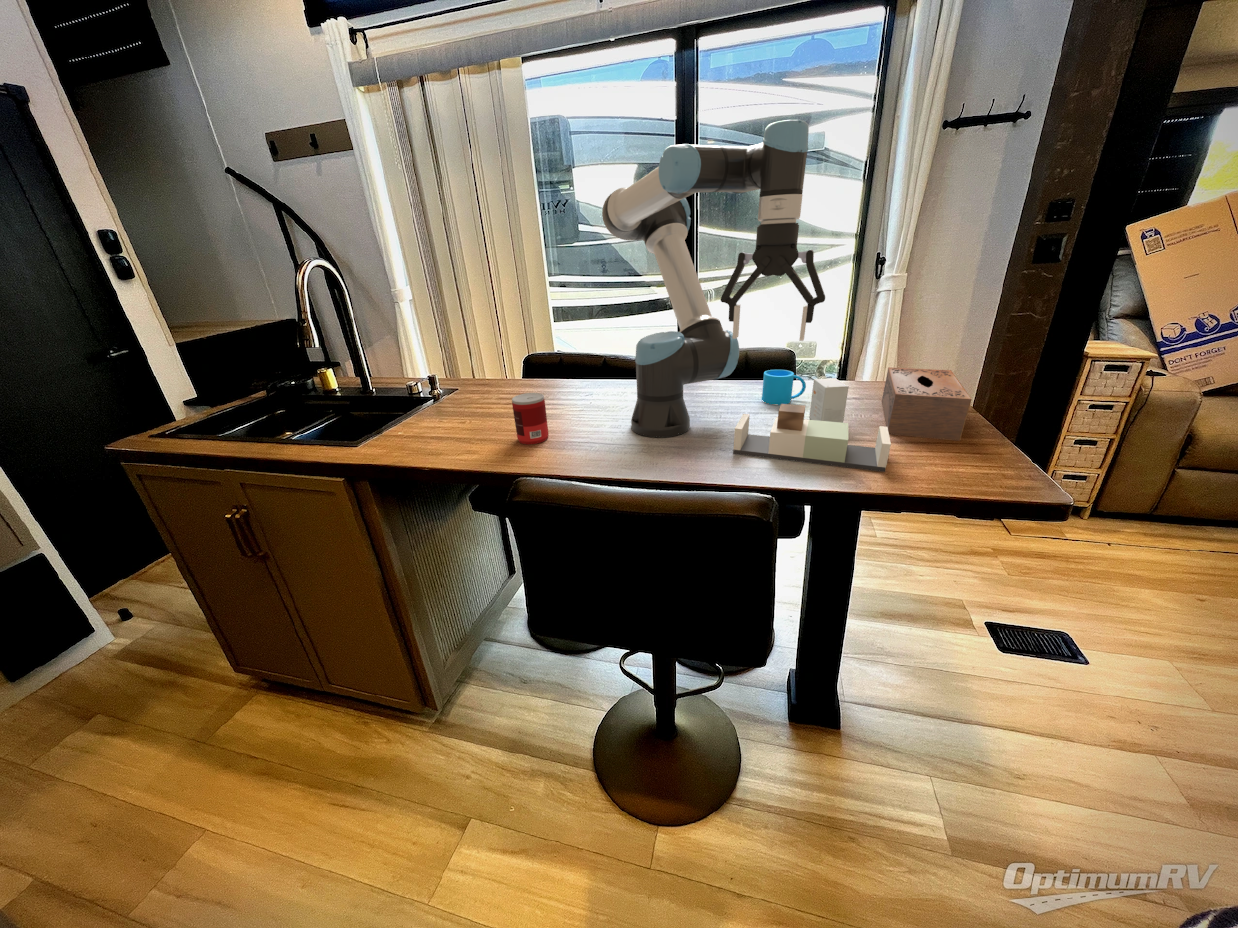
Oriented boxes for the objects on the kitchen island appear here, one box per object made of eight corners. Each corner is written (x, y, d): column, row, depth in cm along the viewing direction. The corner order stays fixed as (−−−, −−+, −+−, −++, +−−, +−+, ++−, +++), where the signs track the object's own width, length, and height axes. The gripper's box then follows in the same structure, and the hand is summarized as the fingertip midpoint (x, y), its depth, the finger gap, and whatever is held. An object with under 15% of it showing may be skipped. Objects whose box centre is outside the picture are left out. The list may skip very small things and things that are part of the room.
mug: (764, 405, 134) (766, 377, 130) (759, 396, 141) (761, 370, 138) (807, 404, 133) (811, 376, 129) (800, 396, 140) (803, 369, 137)
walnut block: (776, 428, 101) (778, 410, 99) (779, 420, 105) (781, 403, 103) (801, 430, 99) (803, 413, 97) (803, 423, 103) (805, 405, 102)
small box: (842, 428, 116) (849, 386, 111) (819, 428, 116) (825, 387, 111) (830, 417, 123) (836, 377, 118) (808, 417, 123) (813, 378, 118)
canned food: (554, 435, 120) (550, 393, 116) (537, 446, 114) (531, 403, 109) (530, 431, 123) (524, 391, 119) (511, 443, 117) (505, 400, 112)
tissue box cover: (881, 402, 132) (888, 367, 128) (941, 406, 126) (951, 370, 122) (886, 434, 111) (895, 394, 107) (959, 441, 105) (971, 399, 101)
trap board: (733, 453, 105) (734, 428, 102) (741, 437, 113) (743, 413, 110) (884, 472, 93) (890, 444, 91) (882, 452, 102) (887, 426, 99)
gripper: (708, 226, 89) (704, 340, 98) (851, 217, 80) (832, 344, 89) (716, 226, 95) (712, 333, 105) (850, 218, 86) (832, 336, 96)
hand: (767, 338), depth 97 cm, fingers open, 12 cm apart
